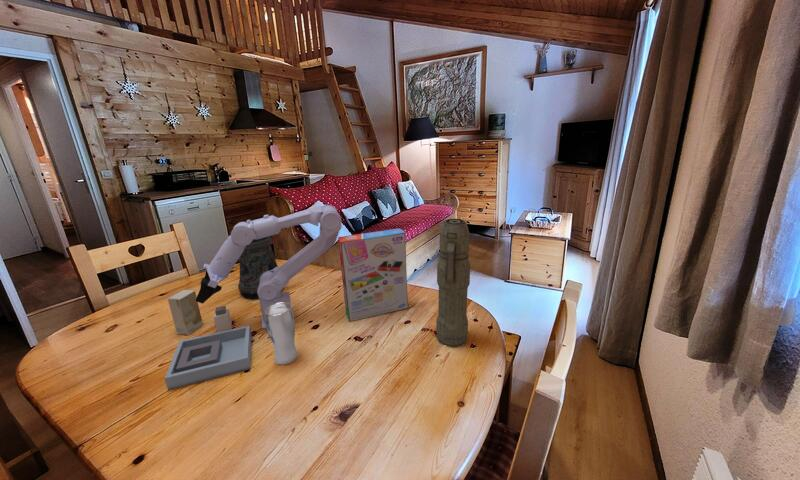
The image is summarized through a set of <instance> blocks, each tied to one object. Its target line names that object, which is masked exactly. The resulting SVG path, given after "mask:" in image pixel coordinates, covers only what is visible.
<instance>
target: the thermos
mask: <svg viewBox="0 0 800 480" xmlns="http://www.w3.org/2000/svg"><path fill="white" fill-rule="evenodd" d="M469 249H470V231H469V227H468V222H467V221H466V220H464V219H460V218H448V219H446V220H444V221H443V222H442V224H441V227H440V230H439V256H438V257H439V258H438V261H437V264H436V283H437V285H438V304H437V305H438V306H437V307H438V311H437V312H438V313H437V314H438V315H437V317H436V324H435V325H436V327H435V328H436V329H435V330H436V339H438V340H437V342H439V344H441V345H442V346H444V345H446V346H445V347H448V346H450V347H449V348H458V346H459V347H462V346H464V345H465V344H466V343H467V341H468V333H469V319H468V316H467V314H468V313H467V312H468V289H469V286H470V284H471V283H470V281H471V280H470V279H471V263H470V260H469V253H468V252H469ZM463 344H464V345H463ZM461 345H462V346H461Z"/></svg>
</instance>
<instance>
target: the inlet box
mask: <svg viewBox="0 0 800 480" xmlns="http://www.w3.org/2000/svg"><path fill="white" fill-rule="evenodd" d="M252 337H253V336H252V331H251V326H250V325H245V326H241V327H237V328H236V327H235V328H231V330H226V331H222V332H217V331H216V332H214V333H208V334H205V335H200V336H196V337H190V338H186V339H182V340H181V339H180V340H179V342H178V343H177V346H176V349H175V351H174V354H173V356H172V358H171V362H170V364H169V367H168V369H167V372H166V374H165V376H164V381H165V384H166V387H167V390H168V391H171V390H175V389H179V388H182V387H187V386H191V385H194V384H199V383H201V382H205V381H209V380H213V379H217V378H221V377H224V376H225V377H226V376H229V375H232V374H237V373H240V372H243V371H248V370H251V360H252V359H251V358H252V355H251V354H252V340H253V339H252Z"/></svg>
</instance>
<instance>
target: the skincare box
mask: <svg viewBox="0 0 800 480" xmlns="http://www.w3.org/2000/svg"><path fill="white" fill-rule="evenodd" d="M196 298H197V293H196V290H191V289H183V290H181V291H178V292H177V293H175V294H173V295H172V296H170V297H168V298H167V301H168V302H167V303H168V306H169V310H170V312H171V313H170V314H171V316H172V320H173V324H174V328H175V332H176V334H177V335H186V336H188V335H190V334H192V333H193V332H195V331H197V329H199V328H201V326H203V325H204V322H203V319H202V315H201V310H200V306H199V302H197V301H196Z"/></svg>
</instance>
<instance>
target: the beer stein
mask: <svg viewBox="0 0 800 480" xmlns="http://www.w3.org/2000/svg"><path fill="white" fill-rule="evenodd" d="M272 240H273V239H272V236H268V237H265V238H261V239H257V240H256V239H253V240H252V242H251V243H250V244H249V245H246V247H245V248H244V251H243V253H242V254H241V256H240V257H239V259H238V260H237V262H238V263H239V282H238V286H237V287H238V291H239V293H240V295H241V297H243V299H246V300H252V301H253V300H259V296H258V294H257V290H258V287H259V283H260V277H261V275H262V274H263V273H265V272H267V271H271V270H273V269H274V268H275V267H279V266H278V263H277V260H276V257H275V254H274V252H273V248H272V245H271V243H272ZM283 290H284V288H283V289H282V291H283Z"/></svg>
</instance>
